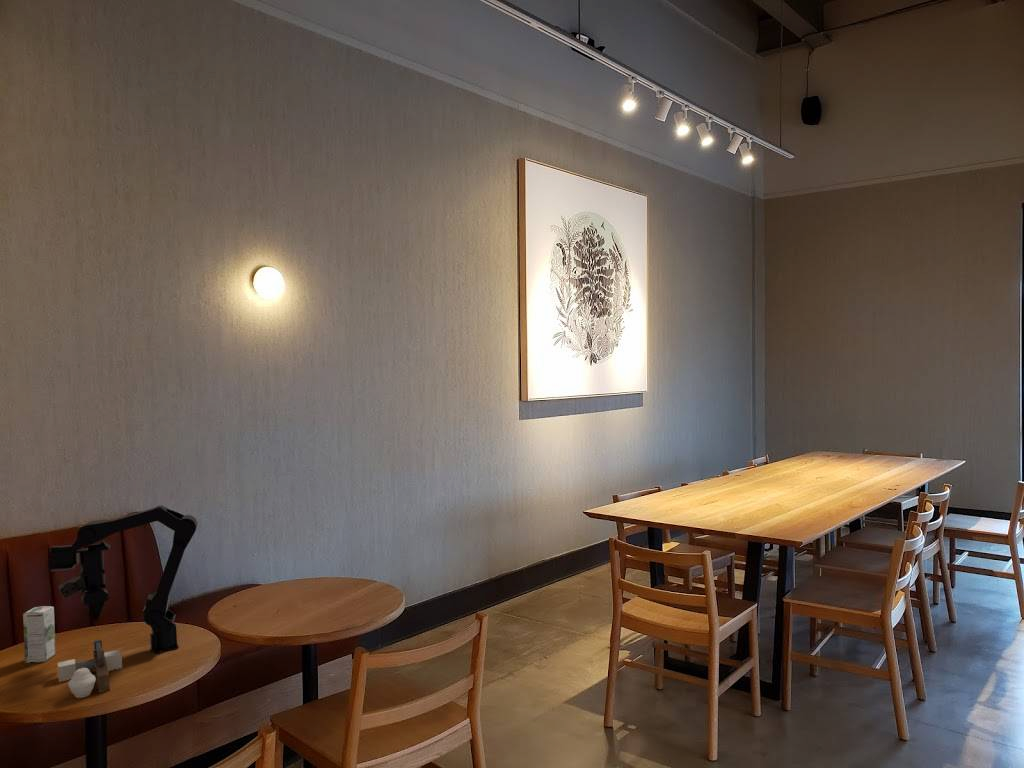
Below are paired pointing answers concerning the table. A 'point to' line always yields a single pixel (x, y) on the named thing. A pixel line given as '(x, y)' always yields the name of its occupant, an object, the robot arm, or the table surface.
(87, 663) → the square-ended dumbbell
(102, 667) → the dark brown block
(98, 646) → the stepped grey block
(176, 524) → the robot arm
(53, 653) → the syrup box
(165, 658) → the table surface
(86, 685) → the muffin
